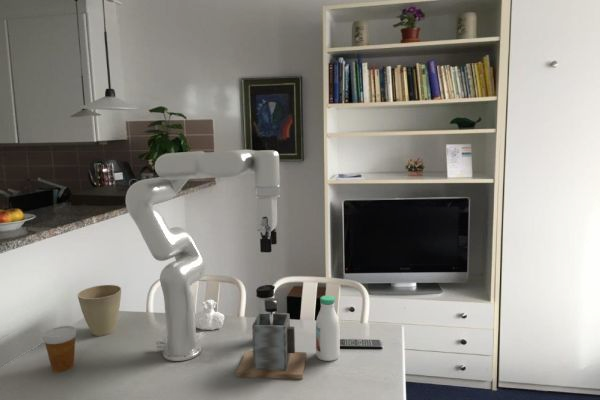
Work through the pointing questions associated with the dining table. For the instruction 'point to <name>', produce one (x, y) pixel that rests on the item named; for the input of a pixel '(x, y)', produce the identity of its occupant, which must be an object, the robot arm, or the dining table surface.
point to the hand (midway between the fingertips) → (268, 248)
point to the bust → (209, 317)
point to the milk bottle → (327, 331)
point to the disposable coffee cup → (60, 347)
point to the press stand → (272, 350)
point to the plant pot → (100, 308)
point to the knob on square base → (271, 307)
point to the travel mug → (264, 297)
